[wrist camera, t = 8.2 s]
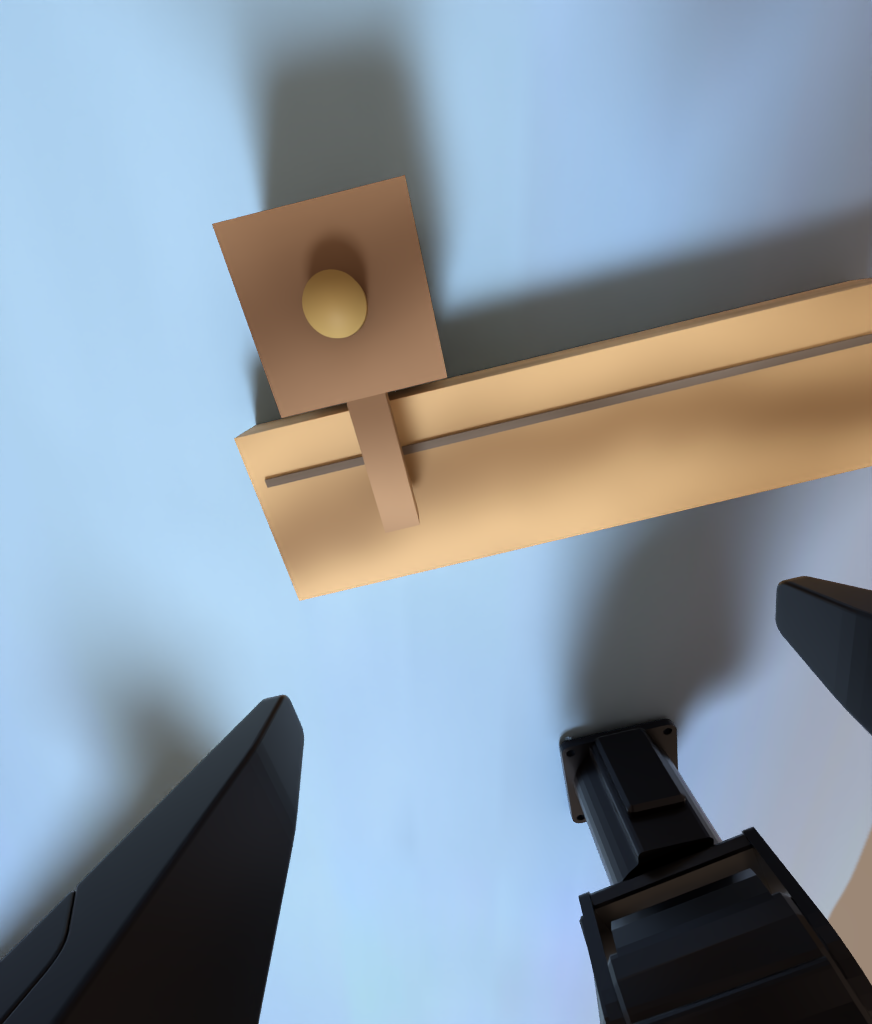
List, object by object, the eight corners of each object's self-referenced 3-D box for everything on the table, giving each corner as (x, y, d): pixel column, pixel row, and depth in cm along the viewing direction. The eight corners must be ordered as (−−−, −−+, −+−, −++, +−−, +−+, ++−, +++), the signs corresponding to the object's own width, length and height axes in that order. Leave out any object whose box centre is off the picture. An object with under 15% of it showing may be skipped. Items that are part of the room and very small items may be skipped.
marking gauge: (458, 472, 20) (480, 525, 14) (346, 499, 20) (325, 562, 14) (404, 220, 16) (404, 164, 11) (266, 255, 16) (198, 216, 11)
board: (832, 447, 20) (891, 462, 18) (311, 570, 21) (298, 602, 18) (851, 280, 18) (922, 272, 15) (255, 424, 18) (233, 439, 16)
